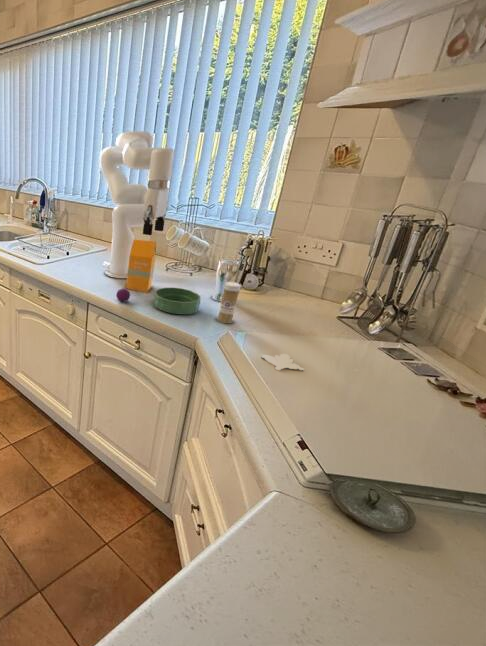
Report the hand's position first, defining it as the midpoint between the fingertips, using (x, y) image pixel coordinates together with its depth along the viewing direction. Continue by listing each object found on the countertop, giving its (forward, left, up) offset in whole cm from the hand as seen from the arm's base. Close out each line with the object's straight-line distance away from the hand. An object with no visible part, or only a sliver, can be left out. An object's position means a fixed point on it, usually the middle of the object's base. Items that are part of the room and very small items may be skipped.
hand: (153, 232), depth 147 cm
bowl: (+14, -4, -25) cm, 29 cm away
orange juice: (-6, +6, -25) cm, 27 cm away
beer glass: (+23, +16, -25) cm, 38 cm away
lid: (+74, -66, -25) cm, 102 cm away
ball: (-3, -12, -25) cm, 28 cm away
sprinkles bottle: (+31, -4, -25) cm, 40 cm away
